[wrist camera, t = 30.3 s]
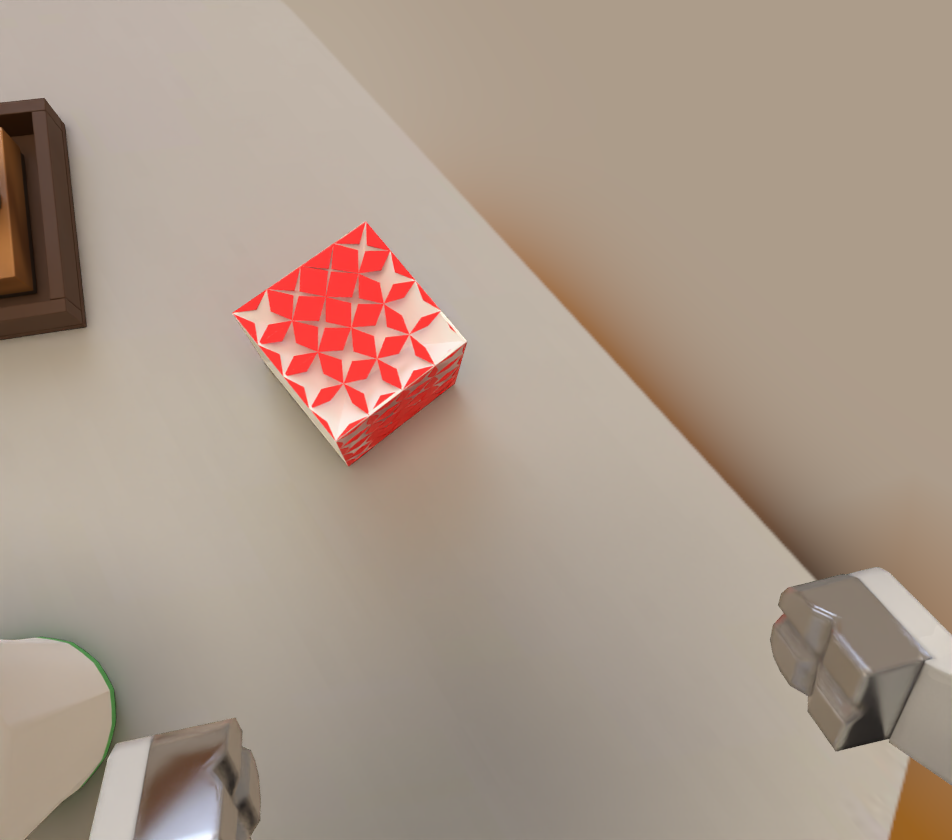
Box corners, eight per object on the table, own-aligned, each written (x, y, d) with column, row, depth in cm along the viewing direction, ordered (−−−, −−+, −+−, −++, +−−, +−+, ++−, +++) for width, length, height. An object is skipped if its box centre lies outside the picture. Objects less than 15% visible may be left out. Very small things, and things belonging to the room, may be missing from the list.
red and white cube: (263, 361, 41) (231, 312, 33) (371, 284, 42) (365, 220, 35) (349, 467, 40) (337, 443, 32) (455, 384, 41) (468, 342, 34)
